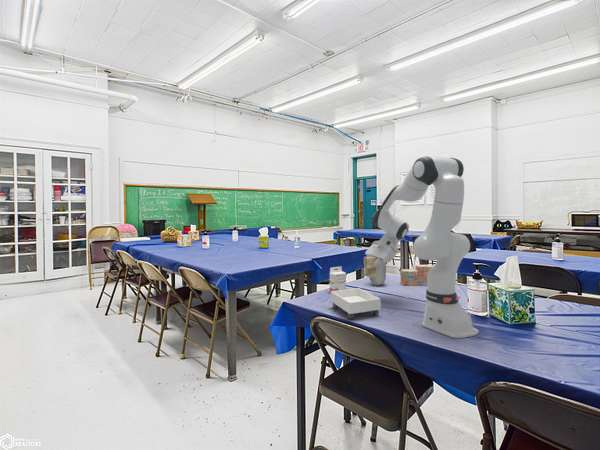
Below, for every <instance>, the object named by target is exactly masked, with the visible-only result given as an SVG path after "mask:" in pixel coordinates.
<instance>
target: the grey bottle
mask: <svg viewBox="0 0 600 450" xmlns="http://www.w3.org/2000/svg"><path fill="white" fill-rule="evenodd" d="M378 241H379V240H374V241H373V242H372V243H371V246H372V245H373V244H376V243H378ZM386 279H387V262H383V261H382V262H381V263H379V264H377V266H376V276H375V277H369V281H370V283H372V285H374V286H381V285H383V284H385V282H386Z"/></svg>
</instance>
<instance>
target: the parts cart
mask: <svg viewBox="0 0 600 450" xmlns="http://www.w3.org/2000/svg"><path fill="white" fill-rule="evenodd" d="M330 302H331V303H332V308H333V309H334V310H335V309H338V308H340V309H342V310H343V311H344V312H347V315H346V316H347V318H348V320H354V318H355V314H359V313H367V312H371V313H372V315H373V316H376V317H377V316H379V313H380V312H379V310H381V307H382V305H381V304H382V303H381V302H382V301H381V298H380V297H377V296H376V295H374V294H372V293H370V292H367V291H366V290H364V289H361V288H359V287H356V288H348V289H347V288H346V290H339V291H331V292H330Z"/></svg>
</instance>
